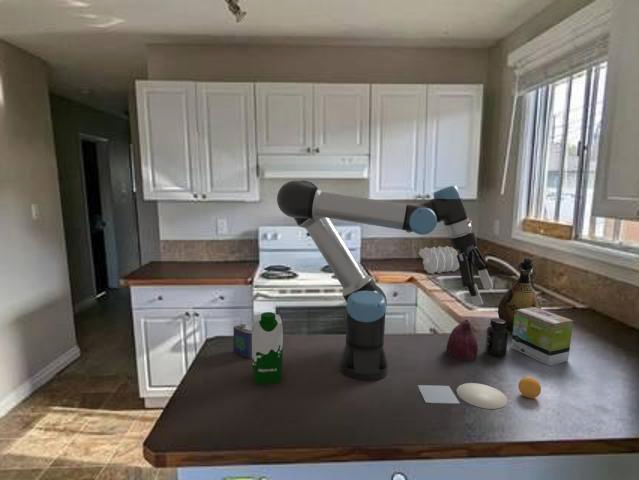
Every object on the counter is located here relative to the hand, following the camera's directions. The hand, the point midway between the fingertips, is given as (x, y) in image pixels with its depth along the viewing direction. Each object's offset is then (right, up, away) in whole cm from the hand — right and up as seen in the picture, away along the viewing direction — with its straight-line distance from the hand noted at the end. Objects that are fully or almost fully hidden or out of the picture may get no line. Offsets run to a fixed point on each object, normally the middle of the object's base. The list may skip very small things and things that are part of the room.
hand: (483, 296), depth 126 cm
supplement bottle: (+8, -22, +11) cm, 25 cm away
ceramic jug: (+27, -19, +33) cm, 47 cm away
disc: (-8, -25, -17) cm, 31 cm away
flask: (-78, -20, +5) cm, 80 cm away
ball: (+5, -23, -18) cm, 29 cm away
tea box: (+23, -22, +11) cm, 34 cm away
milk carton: (-68, -23, -10) cm, 72 cm away
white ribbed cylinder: (+27, -4, +137) cm, 140 cm away
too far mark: (-20, -25, -17) cm, 36 cm away
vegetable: (-4, -21, +10) cm, 24 cm away
